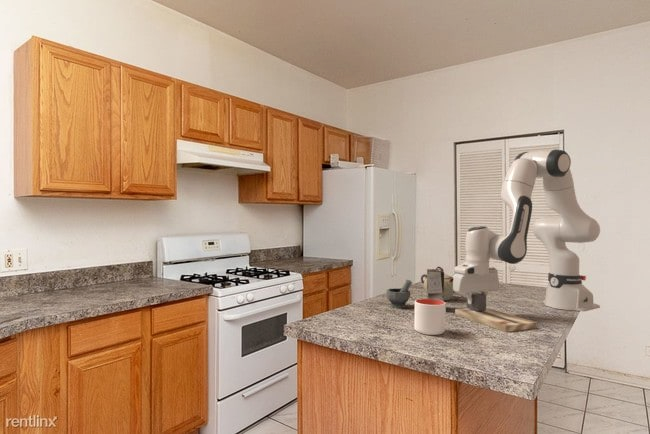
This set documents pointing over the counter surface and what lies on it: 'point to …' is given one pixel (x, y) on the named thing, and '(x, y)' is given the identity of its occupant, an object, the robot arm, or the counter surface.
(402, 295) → the mortar and pestle
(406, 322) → the counter surface
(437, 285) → the coffee box
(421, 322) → the cup
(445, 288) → the sugar bowl
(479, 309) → the fader
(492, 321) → the fader panel
